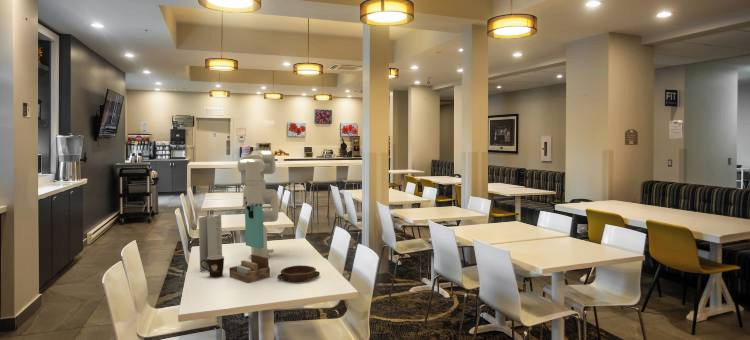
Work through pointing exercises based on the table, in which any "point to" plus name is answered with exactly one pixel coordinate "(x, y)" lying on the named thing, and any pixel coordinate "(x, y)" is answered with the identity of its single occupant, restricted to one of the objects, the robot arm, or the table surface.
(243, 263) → the offcut oak
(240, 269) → the offcut grey
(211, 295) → the table surface
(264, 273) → the rack
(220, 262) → the coffee mug
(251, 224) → the tall sheet
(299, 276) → the dish
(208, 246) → the tall grey panel
